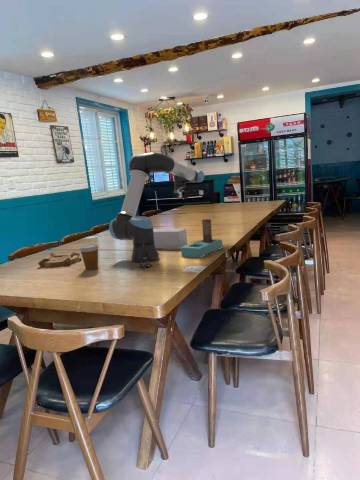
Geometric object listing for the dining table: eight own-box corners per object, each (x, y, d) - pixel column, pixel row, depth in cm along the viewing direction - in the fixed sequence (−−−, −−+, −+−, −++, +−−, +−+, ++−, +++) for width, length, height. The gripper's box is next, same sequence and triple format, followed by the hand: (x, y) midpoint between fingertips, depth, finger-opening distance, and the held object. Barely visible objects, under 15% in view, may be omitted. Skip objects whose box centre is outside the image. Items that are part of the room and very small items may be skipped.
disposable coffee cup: (82, 267, 184) (79, 245, 182) (100, 265, 187) (97, 243, 185) (82, 272, 175) (79, 248, 173) (101, 269, 178) (98, 246, 176)
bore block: (199, 257, 184) (198, 248, 183) (181, 256, 191) (180, 247, 190) (222, 248, 203) (221, 239, 202) (205, 246, 210) (204, 238, 209)
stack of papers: (187, 245, 221) (186, 228, 219) (180, 248, 212) (179, 231, 210) (144, 244, 235) (142, 229, 233) (135, 248, 226) (134, 231, 224)
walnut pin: (209, 248, 198) (207, 220, 195) (202, 247, 201) (200, 220, 198) (214, 246, 202) (212, 219, 199) (206, 246, 205) (205, 219, 202)
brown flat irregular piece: (29, 267, 197) (27, 259, 196) (60, 257, 217) (59, 249, 217) (59, 269, 186) (58, 260, 185) (90, 258, 206) (88, 250, 206)
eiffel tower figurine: (162, 264, 179) (160, 239, 177) (159, 269, 169) (157, 243, 167) (134, 266, 181) (131, 241, 178) (129, 271, 171) (126, 245, 168)
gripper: (202, 196, 236) (211, 197, 216) (166, 200, 231) (172, 201, 211) (201, 185, 235) (210, 185, 215) (165, 188, 230) (171, 189, 210)
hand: (191, 193), depth 213 cm, fingers open, 13 cm apart
